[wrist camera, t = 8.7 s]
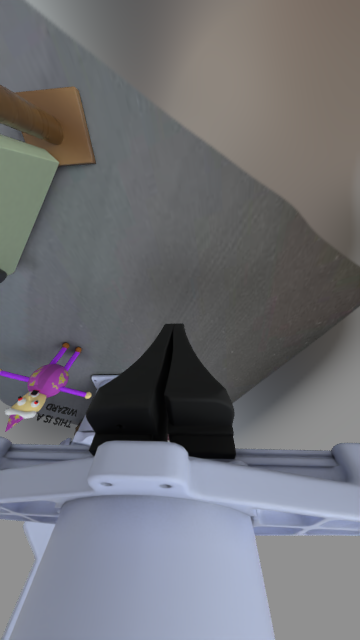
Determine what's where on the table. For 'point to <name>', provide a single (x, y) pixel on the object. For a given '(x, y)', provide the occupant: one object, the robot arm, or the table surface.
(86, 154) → the wooden stand
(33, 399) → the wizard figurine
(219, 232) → the table surface
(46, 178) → the door
